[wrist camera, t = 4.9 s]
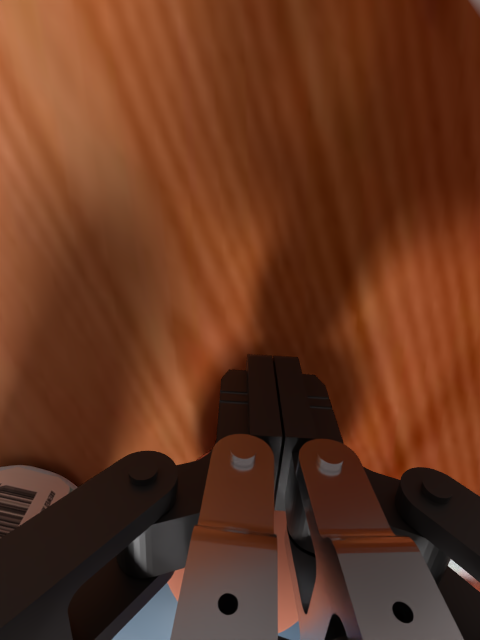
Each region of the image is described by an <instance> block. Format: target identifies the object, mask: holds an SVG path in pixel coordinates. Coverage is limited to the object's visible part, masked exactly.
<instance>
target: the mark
mask: <svg viewBox="0 0 480 640" xmlns="http://www.w3.org/2000/svg"><path fill="white" fill-rule="evenodd" d="M177 604H178V601H177V600H176V598H175V596H174V595H173V593H172V591H171V589H170V587H169V585H168V583H166V584H165V585H164V586H163V587H162V588H161V589H160V590H159V591H158V592H157V593H156V594H155V595H154V597H153V598H152V599H151V600H150V601H149V602H148V603H147V604H146V605H145V606H144V607H143V608H142V609H141V610H140V611H139V612H138V613H137V614H136V615H135V616H134V617H133V618H132V619H131V620H130V621H129V622H128V623H127V624H126V625H125V626H124V627H123V628H122V629H121V630H120V631H119V632H118V633H117V634H116V635H115V636H114V638H113V639H112V640H170V638H171V633H172V628H173V623H174V618H175V614H176V609H177ZM278 636H281V637H284V638H286V639H289V640H300V628H299V621H297V622H296V623H295V624H294V625H292V626H291V627H289V628H288V629H286V630H284V631H282V632H280V633H278Z"/></svg>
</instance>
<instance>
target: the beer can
mask: <svg viewBox="0 0 480 640" xmlns="http://www.w3.org/2000/svg"><path fill="white" fill-rule="evenodd" d="M76 488H78V487H77V486H76V485H74V484H73V483H72V482H70V481H69V480H68V479H66V478H64V477H63V476H61V475H59V474H56V473H53V472H51V471H47V470H44V469H40V468H37V467H33V466H27V465H12V466H5V467H0V538H2V537H3V536H5V535H6V534H8V533H9V532H11V531H12V530H14V529H15V528H17V527H18V526H20V525H21V524H23V523H25V522H26V521H28V520H29V519H31V518H32V517H34V516H35V515H37V514H38V513H40V512H41V511H43V510H44V509H46V508H47V507H49V506H50V505H52V504H53V503H55V502H56V501H58V500H60V499H61V498H63V497H64V496H66V495H67V494H69V493H70V492H72V491H73V490H75V489H76Z"/></svg>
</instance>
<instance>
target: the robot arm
mask: <svg viewBox="0 0 480 640" xmlns="http://www.w3.org/2000/svg"><path fill="white" fill-rule="evenodd" d="M274 510H275V511H285V512H286V520H287V524H286V530H285V536H284V542H285V548H286V554H287V559H288V565H289V570H290V576H291V581H292V587H293V592H294V598H295V603H296V609H297V614H298V620H299V628H300V640H480V592H479V591H478V590H476V589H475V588H474V587H473V586H471V585H470V584H469V583H468V582H467V581H465V580H464V579H463V578H462V577H461V576H459V575H458V574H457V573H456V572H455V571H453V570H452V569H451V568H450V567H448V563H449V561H450V559H452V560H453V561H454V562H455V563H457V564H458V565H459V566H460V567H462V568H463V569H464V570H465V571H467V572H468V573H469V574H470V575H471V576H473V577H474V578H475V579H476V580H478V581H479V582H480V497H479V496H478V495H476V494H475V493H473V492H472V491H470V490H469V489H467V488H466V487H464V486H463V485H461V484H460V483H458V482H457V481H455V480H454V479H452V478H451V477H449V476H448V475H446V474H444V473H442V472H439V471H437V470H434V469H430V468H423V467H417V468H412V469H409V470H407V471H406V472H405V473H404V474H403V475H402V477H401V480H398V479H395V478H392V477H388V476H385V475H382V474H378V473H376V472H373V471H371V470H368V469H366V468H365V467H363V466H362V464H361V462H360V460H359V458H358V456H357V455H356V454H355V452H354V451H352V450H351V449H350V448H349V447H347V446H346V445H344V443H343V440H342V437H341V434H340V431H339V428H338V424H337V421H336V418H335V415H334V412H333V409H332V406H331V403H330V400H329V396H328V393H327V390H326V387H325V385H324V384H323V383H322V382H321V381H320V380H319V379H318V378H317V377H316V376H315V375H309V374H302V372H301V367H300V363H299V359H298V357H285V356H273V358H272V356H268V355H253V354H248V355H247V363H246V371H244V370H229V371H228V372H227V373H226V374H225V375H224V377H223V378H222V379H221V390H220V403H219V415H218V427H217V439H216V443H215V446H214V447H213V449H212V450H211V451H210V452H209V453H208V454H207V455H206V456H204V457H203V458H201V459H199V460H196V461H193V462H190V463H185V464H180V465H175V463H174V462H173V460H172V459H171V458H169V457H168V456H166V455H165V454H162V453H160V452H156V451H140V452H135V453H132V454H130V455H127V456H125V457H124V458H122V459H120V460H119V461H117V462H116V463H114V464H113V465H111V466H110V467H108V468H107V469H105V470H104V471H102V472H101V473H99V474H98V475H96V476H95V477H93V478H91V479H90V480H88V481H87V482H85V483H84V484H82V485H81V486H79V487H78V488H76V489H75V490H73V491H72V492H70V493H69V494H67V495H66V496H64V497H63V498H61V499H60V500H58V501H56V502H55V503H53V504H52V505H50V506H49V507H47V508H46V509H44V510H43V511H41V512H40V513H38V514H37V515H35V516H34V517H32V518H31V519H29V520H28V521H26V522H25V523H23V524H21V525H20V526H18V527H17V528H15V529H14V530H12V531H11V532H9V533H8V534H6V535H5V536H3V537H2V538H0V640H112V639H113V638H114V636H115V635H116V634H117V633H118V632H119V631H120V630H121V629H122V628H123V627H124V626H125V625H126V624H127V623H128V622H129V621H130V620H131V619H132V618H133V617H134V616H135V615H136V614H137V613H138V612H139V611H140V610H141V609H142V608H143V607H144V606H145V605H146V604H147V603H148V602H149V601H150V600H151V599H152V598H153V597H154V595H155V594H156V593H157V592H158V591H159V590H160V589H161V588H162V587H163V586H164V585H165V584H166V583H167V582H168V581H169V580H170V579H171V577H172V575H173V574H174V572H175V570H179V569H182V568H185V570H184V575H183V580H182V584H181V589H180V594H179V599H178V604H177V609H176V614H175V618H174V623H173V628H172V633H171V638H170V640H289V639H286V638H284V637H281V636H278V549H277V535H276V534H274Z"/></svg>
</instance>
